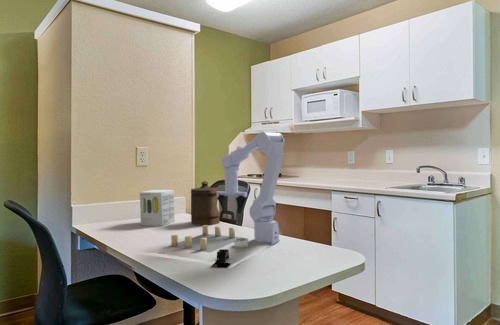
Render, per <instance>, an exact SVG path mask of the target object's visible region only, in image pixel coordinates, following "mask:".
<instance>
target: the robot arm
mask: <svg viewBox="0 0 500 325" xmlns="http://www.w3.org/2000/svg"><path fill="white" fill-rule="evenodd" d="M285 142H286V140H285V138H284V136H283V135H282V133H280V132H267V131H266V132H265V131H260V132H258V134H255V136H254V138H253V139H251V141H249V142H248V143H247V144H246V145H244V146H243V145H242V146H241V145H240V146H239V145H238V146H237V147H236V149H235V150H233V151H231V152H230V153H229V154H227V153H226V154H224V155H223V156H222V157H221V165H222V167H223V168H224V191H223V190H222V191H221V190H219V191H218V192H217V196H219V197H217V198H218V200H219V205H220V206H221V210H222V213H223V214H224V213H227V212H228V198H229V197H235V200H236V206H237V210H236V211H237V214H242V212H243V208H244V205H245V202H246V199H247V197H248V192H247V191H239V179H238V178H239V176H238V175H239V174H238V172H239V169H240V168H239V167H240V165H241V163H242V162H243V161H245V160H247V159H248V158H249V156H250V154H251V153H253V152H255V151H256V150H257V149H260V150H261V151H262V152H263V154H264V155H265V156H266V157H267V162H266V166H265V170H264V174H263V178H262V182H261V186H260V191H259V194H258V196H257V197H256V198H254V200H253V202H252V204H251V205H250V207H249V216H250V218H251V219H252V221H253V229H254V230H253V231H254V233H253V234H254V241H255V242H259V243H269V244H267V245H268V246H273V245H274V244H277V243H278V242H280V234H279V232H280V230H279V222H278V221H277V220H274V217H275V215H276V213H277V212H276V211H277V209H276V208H277V207H276V205H277V202H276V200H275V199H274V194H275V191H276V189H277V188H276V187H277V184H278V179H279V176H280V172H281V168H282V164H283V161H284V160H283V159H284V147H285Z"/></svg>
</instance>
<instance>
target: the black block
mask: <svg viewBox="0 0 500 325" xmlns="http://www.w3.org/2000/svg"><path fill="white" fill-rule="evenodd" d="M228 259H230V252H229V249H227V248H226V249H223V248H219V249H218V251H217V252H216V261H215V262H214V263H213V264H212V265H211V266H210V268H216V269H218V268H219V269H228V268H229V267H230V265H231V264H232V263H231V262H227V261H226V260H228Z"/></svg>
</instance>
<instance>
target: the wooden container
mask: <svg viewBox="0 0 500 325" xmlns="http://www.w3.org/2000/svg"><path fill="white" fill-rule="evenodd" d="M208 185H209V182H208V181H205V180H204V181H202V182H201V186H199V187H195V188H191V189H190V218H191V219H190V220H191V221H190V223H191V224H192V225H194V226H203V225H208V226H213V224H214V225H217V224H219V223H220V202H219V200H218V198H217V197H219V196H217V192H218V191H220V190H219V187H211V186H208Z"/></svg>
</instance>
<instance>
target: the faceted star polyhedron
mask: <svg viewBox="0 0 500 325" xmlns="http://www.w3.org/2000/svg"><path fill="white" fill-rule="evenodd" d="M233 247H234V248H238V249H239V248H240V249H242V248H248V247H249V238H248V237H247V238H246V237H243V238H236V239H235V240H234V242H233Z"/></svg>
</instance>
